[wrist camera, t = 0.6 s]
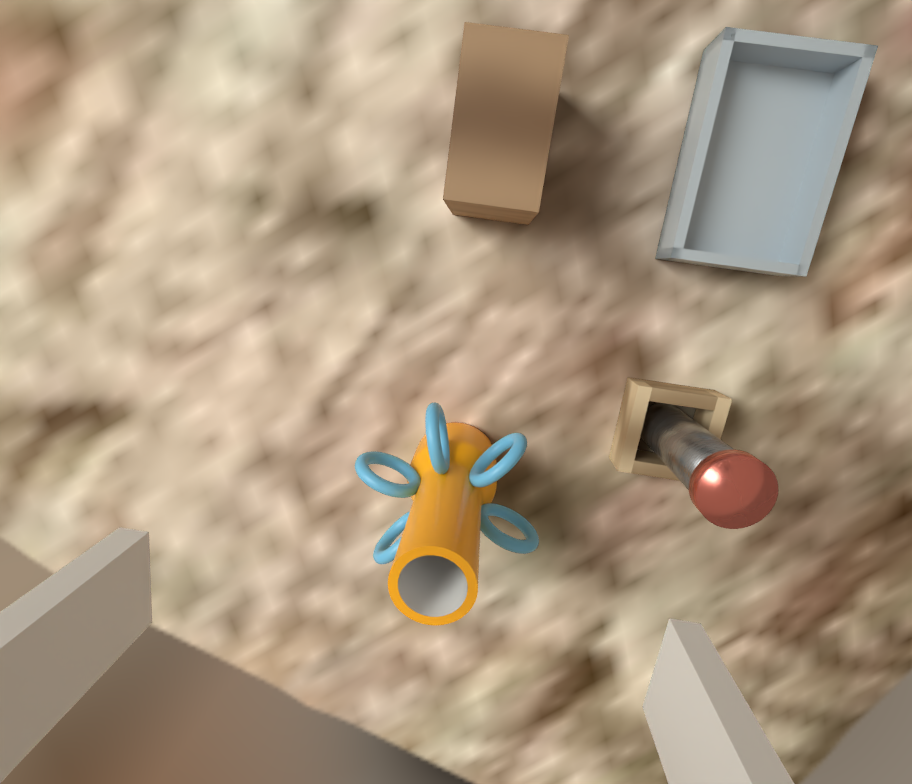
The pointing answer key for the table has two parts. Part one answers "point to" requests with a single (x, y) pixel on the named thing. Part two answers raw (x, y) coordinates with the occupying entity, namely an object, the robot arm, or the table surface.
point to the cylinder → (445, 517)
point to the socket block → (632, 415)
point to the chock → (503, 121)
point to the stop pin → (710, 468)
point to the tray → (762, 150)
